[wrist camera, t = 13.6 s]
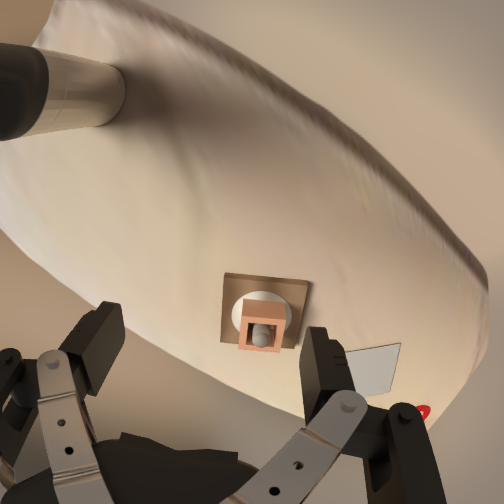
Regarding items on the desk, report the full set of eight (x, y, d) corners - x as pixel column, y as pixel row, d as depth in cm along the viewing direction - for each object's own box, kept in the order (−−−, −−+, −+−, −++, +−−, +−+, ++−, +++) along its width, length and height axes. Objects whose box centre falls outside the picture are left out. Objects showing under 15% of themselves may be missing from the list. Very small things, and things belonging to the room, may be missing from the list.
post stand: (221, 336, 50) (215, 371, 43) (225, 272, 45) (217, 303, 38) (293, 343, 50) (297, 377, 43) (306, 280, 46) (314, 312, 38)
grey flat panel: (308, 310, 48) (309, 313, 47) (446, 290, 46) (448, 292, 45) (310, 402, 57) (310, 405, 57) (422, 382, 55) (423, 384, 55)
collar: (240, 330, 48) (238, 349, 44) (243, 298, 45) (241, 315, 41) (278, 334, 48) (279, 352, 44) (284, 302, 45) (286, 319, 41)
